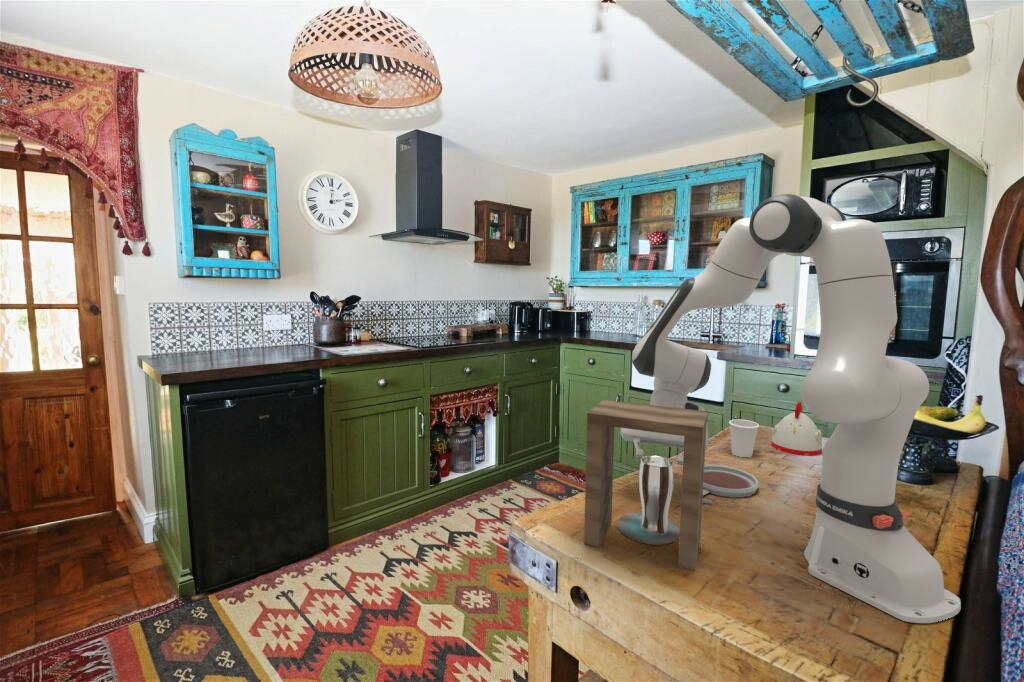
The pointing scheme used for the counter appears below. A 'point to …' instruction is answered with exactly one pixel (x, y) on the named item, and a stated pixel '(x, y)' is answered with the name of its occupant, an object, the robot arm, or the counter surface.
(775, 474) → the counter surface
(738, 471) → the frying pan
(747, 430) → the dixie cup
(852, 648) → the counter surface
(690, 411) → the shelf bridge
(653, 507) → the beer glass
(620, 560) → the counter surface
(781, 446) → the kitchen timer
